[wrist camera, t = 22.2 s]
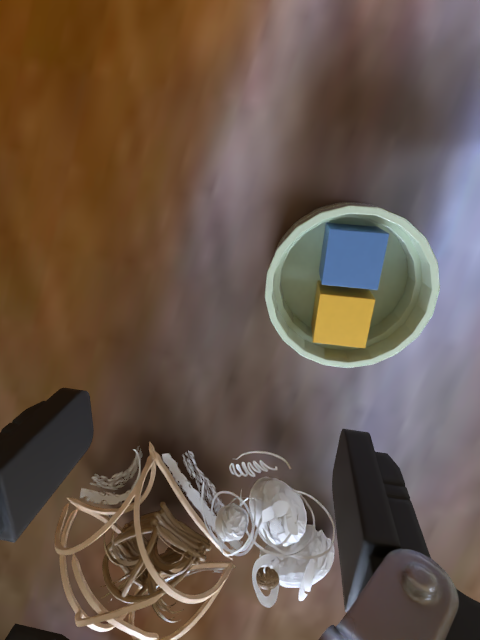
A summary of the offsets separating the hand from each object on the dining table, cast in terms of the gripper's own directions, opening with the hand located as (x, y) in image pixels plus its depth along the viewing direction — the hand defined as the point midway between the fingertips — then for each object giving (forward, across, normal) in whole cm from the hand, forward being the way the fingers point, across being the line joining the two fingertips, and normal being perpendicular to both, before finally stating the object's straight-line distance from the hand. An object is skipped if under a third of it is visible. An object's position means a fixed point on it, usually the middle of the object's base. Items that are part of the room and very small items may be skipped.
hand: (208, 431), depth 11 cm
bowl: (+26, -7, +1) cm, 27 cm away
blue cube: (+26, -7, -2) cm, 27 cm away
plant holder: (+26, +6, +35) cm, 44 cm away
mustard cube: (+26, -7, +4) cm, 27 cm away
